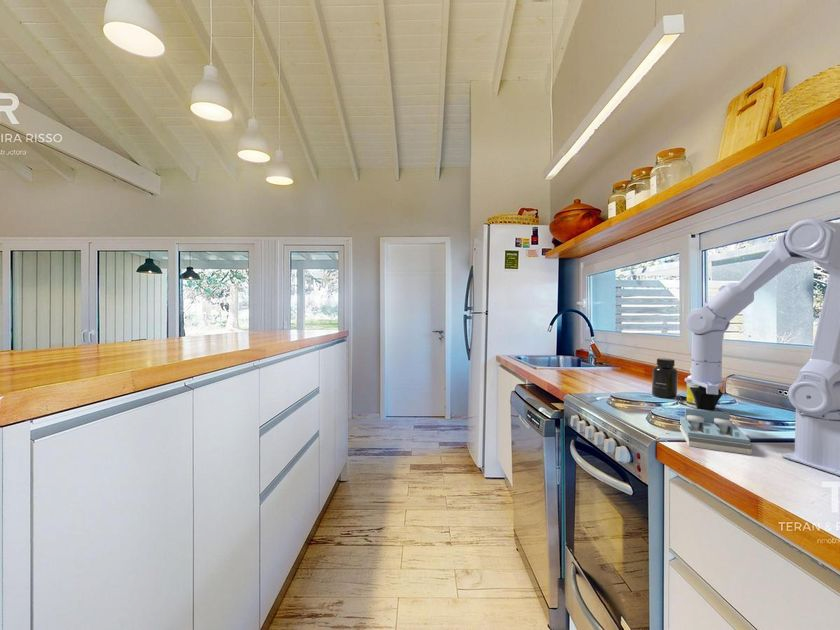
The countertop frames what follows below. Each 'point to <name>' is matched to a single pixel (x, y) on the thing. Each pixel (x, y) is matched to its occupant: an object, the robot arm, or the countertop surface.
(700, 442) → the boss board
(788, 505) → the countertop surface
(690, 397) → the pill bottle
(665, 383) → the supplement bottle
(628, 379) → the countertop surface
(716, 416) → the panel
